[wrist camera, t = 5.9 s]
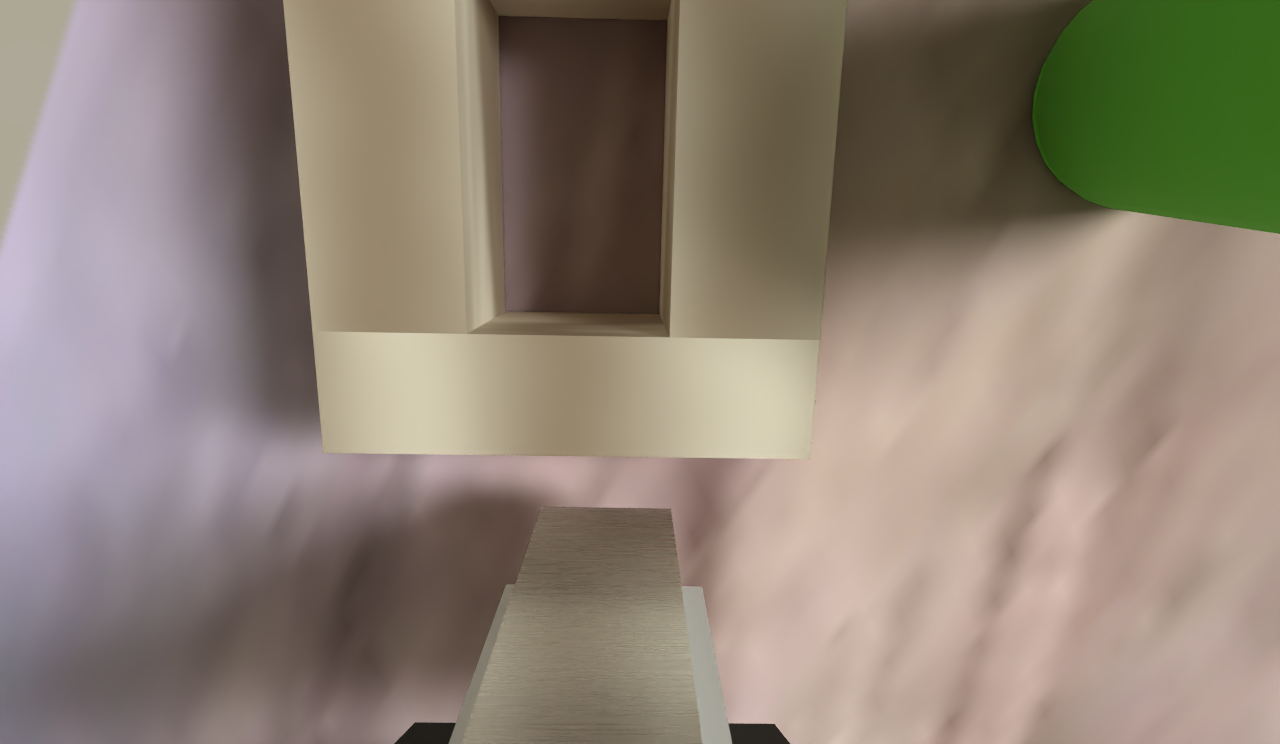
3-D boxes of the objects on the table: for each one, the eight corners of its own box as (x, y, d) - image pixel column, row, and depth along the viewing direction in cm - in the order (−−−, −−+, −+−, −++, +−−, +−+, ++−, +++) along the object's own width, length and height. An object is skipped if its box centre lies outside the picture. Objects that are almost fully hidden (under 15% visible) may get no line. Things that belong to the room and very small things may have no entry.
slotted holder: (800, -95, 14) (865, -220, 10) (767, 408, 17) (810, 459, 13) (362, -109, 14) (262, -243, 10) (394, 403, 17) (323, 452, 13)
